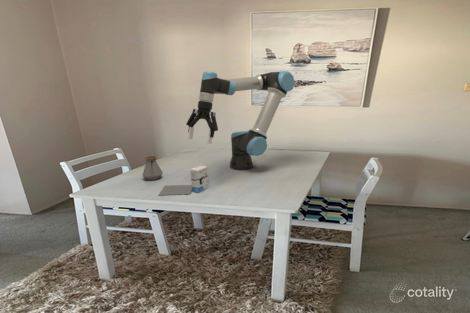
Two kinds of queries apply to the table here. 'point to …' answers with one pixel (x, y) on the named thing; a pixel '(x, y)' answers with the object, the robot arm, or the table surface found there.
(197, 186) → the ink box
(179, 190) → the mat
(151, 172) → the coffee pot
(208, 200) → the table surface
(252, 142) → the robot arm
